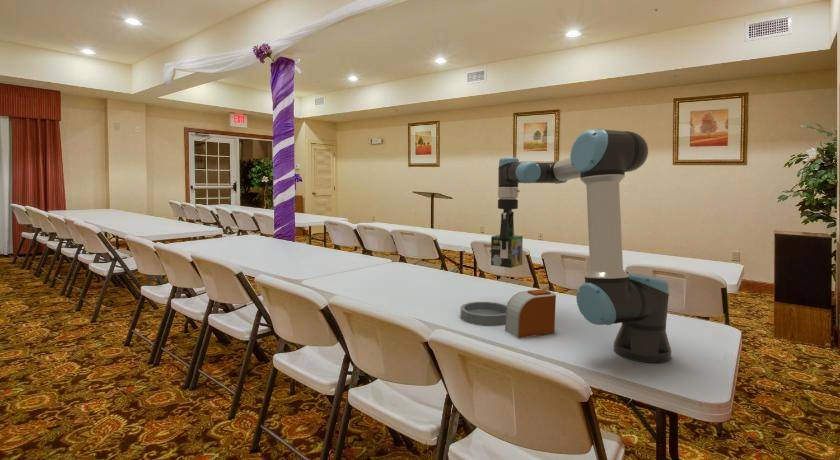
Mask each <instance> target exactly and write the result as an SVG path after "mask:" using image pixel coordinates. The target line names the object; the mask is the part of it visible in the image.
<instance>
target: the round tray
mask: <svg viewBox="0 0 840 460" xmlns="http://www.w3.org/2000/svg"><path fill="white" fill-rule="evenodd" d="M506 307H507V304H503V303H499V302H492V301H472V302H466V303H463V304H462V305H461V306H460V312H459V314H460V319H461V320H462V321H464V322H466V323H469V324H474V325H478V326H487V327H488V326H489V327H490V326H492V327H493V326H494V325H495V326H496V325H497V326H502V325H505V320H506Z"/></svg>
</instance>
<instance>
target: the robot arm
mask: <svg viewBox="0 0 840 460" xmlns="http://www.w3.org/2000/svg"><path fill="white" fill-rule="evenodd" d="M648 146H649V145H648V143H647V142H646V140H645V139H644V137H642V136H641V135H640V134H638V133H637V132H634V131H628V130H613V129H612V130H611V129H603V128H598V129H587V130H585V131H583V132H582V133H580V134H579V135H578V136H577V137H576V139H575V140H574V142H573V143H572V147H571V150H570V157H568V158H564V159H559V160H556V161H552V162H535V161H528V160H527V161H521V162H520V160H519V158H518V157H501V158H499V160H498V168H497V169H498V176H497V178H498V179H497V180H498V181H497V184H498V185H497V186H498V187H497V198H499V199H497V209H499V210H503V211H502V213H501V214H500V230H499V235H500V238H499V241H501V247H500V258H508V241H507V240H508V233H509V228H511V229H512V235H515V230H514V229H515V227H514V226H515V225H514V224H515V223H514V211H513V210H517V209H519V200H518V197H519V193H520V192H521V191H520V189H519V184H556V185H557V184H559V185H560V184H565V183H567V182H568V181H569V180H574V179H580V181H581V182H583V184H584V185H585V186H586V204H587V205H586V206H587V207H586V209H587V225H588V226H587V230H588V232H587V233H588V250H589V251H588V252H589V253H588V254H589V270H588V271H587V272H586V273H585V274H584V283H583V284H581V285H580V286H579V287H578V289H577V291H576V295H575V296H576V303H577V304H576V305H577V308H578V310H579V312H580V314H581V315H582V316H583V318H584V319H585V320H586V321H587V322H589V323H591V324H593V325H595V326H602V325H603V326H604V325H606V326H611V325H614V324H615V325H616V324H621V325H620V327H619V330H618V332H617V335H616V336H615V338H614V342H613V351H614V352H615V353H616V354H617V355H619V356H621V357H623V358H626V359H629V360H631V361H632V360H633V361H638V362H641V363H651V364H656V363H659V364H660V363H666V362H669V361H670V360H671V359H672V347H671V344H670V342H669V338H668V335H667V317H668V309H669V308H668V307H669V297H670V293H669V291H670V289H669V282H668V281H667V280H666V279H664V278H660V277H656V276H652V275H647V274H642V273H641V274H640V273H635V272H634V273H633V272H628V273H627V271H625V270H624V259H623V242H622V241H623V238H622V218H621V217H622V216H621V198H620V183H621V181H622V180H623V179H624V178H625V177H626V175H625V173H630V172H634V171H637V170H638V169H639V168H641V167H642V166H644V164H645V162H646V161H647V158H648V155H649V147H648Z"/></svg>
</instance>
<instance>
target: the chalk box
mask: <svg viewBox="0 0 840 460" xmlns="http://www.w3.org/2000/svg"><path fill="white" fill-rule="evenodd" d="M499 238H500V234H497V235H494V236H493V235H492V236H491V238H490V241H491V242H490V245H491V246H490V266H495V267H496V266H497V267H502V268H509V269H513V268H515V267H519V266H522V265H523V245H524V244H523V235H515V234H514V235H512V229H511V228H509V233H508V240H507V241H508V258H500V247H501V241H499Z"/></svg>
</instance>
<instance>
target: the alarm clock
mask: <svg viewBox="0 0 840 460" xmlns="http://www.w3.org/2000/svg"><path fill="white" fill-rule="evenodd" d="M556 299H557V295H556V294H555V293H554V292H551V291H549V290H546V289H542V288H541V289H532V290H527V291H526V290H525V291H524V290H523V291H520V292H517V293H516V294H514V295H512V296H511V297H510V299H509V300H508V302H507V304H506V305H507V307H506V320H505V324H504V325H505V326H504V327H505V329H504V331H505V330H506V332H507V333H508V334H511V335H513V336H514V337H516V338H517V337H518V338H517V339H521V337H522V338H528V337H527V336H529V337H535V336H534V335H537V336H542V334H545V335H550V334H554V333H555V326H556V325H555V323H556V303H557V302H556V301H557V300H556Z"/></svg>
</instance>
